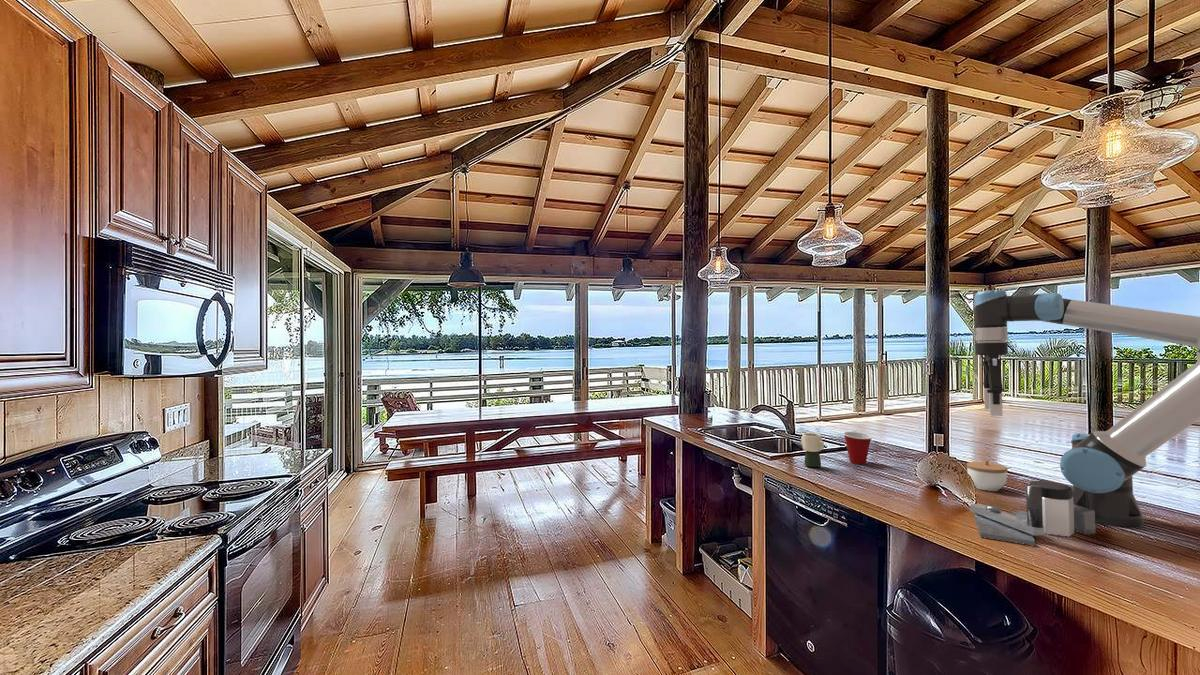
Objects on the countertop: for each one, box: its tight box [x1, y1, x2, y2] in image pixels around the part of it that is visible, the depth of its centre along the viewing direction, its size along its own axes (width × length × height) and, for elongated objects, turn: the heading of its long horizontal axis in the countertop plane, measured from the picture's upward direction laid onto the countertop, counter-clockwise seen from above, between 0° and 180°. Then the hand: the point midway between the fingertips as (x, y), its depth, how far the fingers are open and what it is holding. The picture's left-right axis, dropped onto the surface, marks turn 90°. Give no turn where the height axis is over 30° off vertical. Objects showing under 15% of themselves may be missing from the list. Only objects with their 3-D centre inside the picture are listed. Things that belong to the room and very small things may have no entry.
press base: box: [972, 511, 1036, 547], centre depth 128 cm, size 10×22×1 cm, turn 146°
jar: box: [1029, 480, 1075, 538], centre depth 126 cm, size 9×8×12 cm
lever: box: [970, 483, 1045, 537], centre depth 128 cm, size 18×5×12 cm, turn 8°
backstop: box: [1074, 505, 1096, 535], centre depth 127 cm, size 3×8×6 cm, turn 8°
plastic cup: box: [842, 431, 873, 465], centre depth 196 cm, size 11×11×12 cm
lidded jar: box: [966, 460, 1008, 492], centre depth 161 cm, size 11×11×9 cm
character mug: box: [800, 432, 825, 468], centre depth 192 cm, size 11×7×13 cm, turn 24°
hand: (993, 412), depth 143 cm, fingers open, 13 cm apart
